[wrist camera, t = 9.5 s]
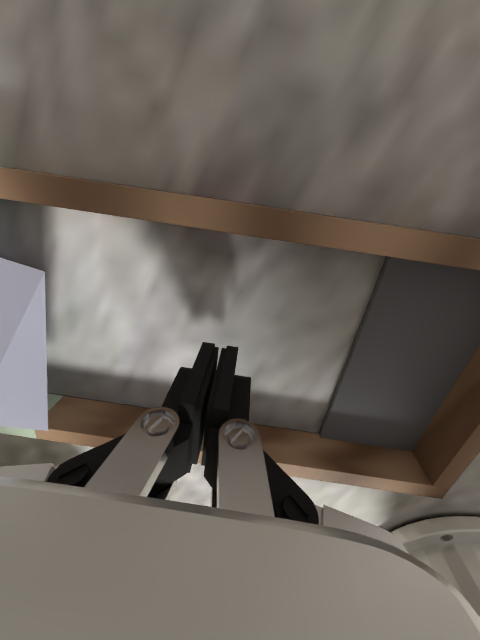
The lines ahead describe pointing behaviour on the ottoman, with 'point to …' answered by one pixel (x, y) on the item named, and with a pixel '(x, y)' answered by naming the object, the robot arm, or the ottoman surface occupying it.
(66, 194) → the channel box
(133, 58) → the ottoman surface
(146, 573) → the robot arm
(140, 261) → the ottoman surface
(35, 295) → the wedge on round base
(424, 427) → the strip
